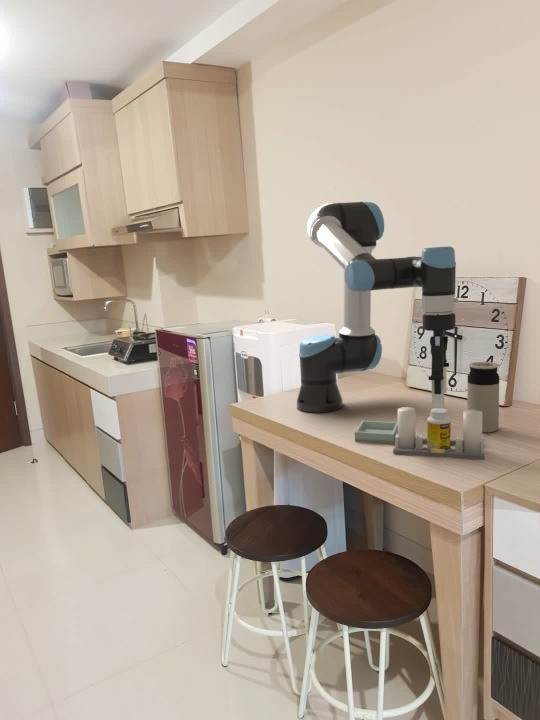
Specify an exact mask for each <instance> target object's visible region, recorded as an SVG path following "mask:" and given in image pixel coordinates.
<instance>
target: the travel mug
mask: <svg viewBox="0 0 540 720" xmlns="http://www.w3.org/2000/svg"><path fill="white" fill-rule="evenodd" d="M468 367H469V369H470V371H469V373H468V375H467V401H466V402H467V404H466V405H467V408H466V410H479V411H481V412H482V434H486V433H494V432H496V431H497V430H499V422H500V421H499V415H500V414H499V411H500V410H499V409H500V375H499V373H498V368H499V364H498V363H496V362H492V361H474V362H471V363H468Z"/></svg>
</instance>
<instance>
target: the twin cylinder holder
mask: <svg viewBox="0 0 540 720" xmlns="http://www.w3.org/2000/svg"><path fill="white" fill-rule="evenodd" d="M396 410H397V413H396V414H397V422H398V434H396V437H395V441H394V446H395V447H394V448H393V450H392V451H393V455H406V456H421V457H433V458H434V457H435V458H436V457H437V458H449V459H450V458H452V459H464V460H481V461H485V438H483V433H482V412H481V411H479V410H467V409H465V410H463V411H462V437H461V436H460V437H459V436H456V437H455V439H451V442H450V446H455V451H447V452H445V449H435V448H432V449H431V451H430V450H429V449H427V450H424V449H423V447H424V444H427V437H424V435H422V434H416V433H417V430H416V428H417V427H416V419H417V418H416V417H417V416H416V408H414V407H410V406H409V407H408V406H403V407H399V408H397V409H396Z"/></svg>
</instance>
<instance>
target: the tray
mask: <svg viewBox="0 0 540 720" xmlns="http://www.w3.org/2000/svg"><path fill="white" fill-rule="evenodd" d="M360 421H361V422H360V423H359V425H358V426H357V428H356V429H355V430H354V441H355V442H364V443H365V442H366V443H378V444H379V443H380V444H395V437H396V434H398V421H395V422H394V421H378V420H377V421H376V420H375V421H374V420H360Z"/></svg>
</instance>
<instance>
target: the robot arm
mask: <svg viewBox="0 0 540 720" xmlns="http://www.w3.org/2000/svg"><path fill="white" fill-rule="evenodd" d="M382 212H383V211H382V210H381V208H380V207H379V205H378V204H376V203H375V202H372V201H371V202H370V201H355V202H329V203H325V204H323V205H321V206H319V207H318V208H316V209H315V210H314V211H313V213H311V215H310V216H309V219H308V221H307V228H306V229H307V233H308V234H307V235H308V237H309V238H310V240H311V241H312V242H313V244H314V245H315V246H316V247H319V248H323V249H324V250H325V251H326V252H327V253H328V254H329V255H330V256H331V257H332V258H333V260H334V261H336V263H338V265H339V266H340V267H341V268H342V269H343V326H342V327H341V328H340V329H339V333H338V337H336V335H334V334H331V333H327V334H326V333H325V334H318V335H317V334H316V335H313V336H309V337H307V338H304V339H303V340H301V342H300V343H299V354H298V355H299V366H300V367H299V368H300V387H299V391H298V393H297V399H296V408H297V409H298V410H299V411H302V412H306V413H307V412H308V413H329V412H330V413H331V412H334V411H338V410H340V409H341V408H343V404H344V403H343V400H344V399H343V396H342V393H341V391H340V389H339V386H338V382H337V374H343V373H344V374H345V373H352V372H365V371H369V370H373V369H375V368H376V367H377V366H378V365H379V363H380V360H381V359H382V353H383V347H382V344H381V343H382V341H381V337H379V336H378V335H377V334H376V330H375V329H374V328H373V327H372V326H371V309H372V308H371V300H372V295H371V294H372V291H381V290H382V291H383V290H391V289H393V290H394V289H406V288H407V289H408V288H421V291H422V292H421V307H422V308H421V311H422V312H423V313H424V314H423V315H422V329H423V330H424V331H430V332H431V331H432V332H433V334H432V335H433V336H430V339H429V345H430V355H431V374H430V375H429V376H428V381H431V407H432V408H445V394H447V385H448V384H447V381H448V380H447V379H448V378H447V368H450V363H449V362H447V361H448V360H447V350H448V344H449V336H448V335H446V333H447V331H452V330H454V329H455V328H456V326H457V325H456V324H457V323H456V314H455V313H453V312H454V311H456V303H458V302H459V298H457V297H456V269H457V267H456V265H457V262H456V252H455V248H454V247H453V246H435V247H433V246H432V247H424V248H423V249H422V251H421V256H405V257H395V258H393V257H392V258H376V257H375V256H373V255H372V252H373V250H374V249H375V248H376V247H377V241H379V240H380V239H382V237H383V235H384V233H385V219H384V215H383V213H382Z"/></svg>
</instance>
